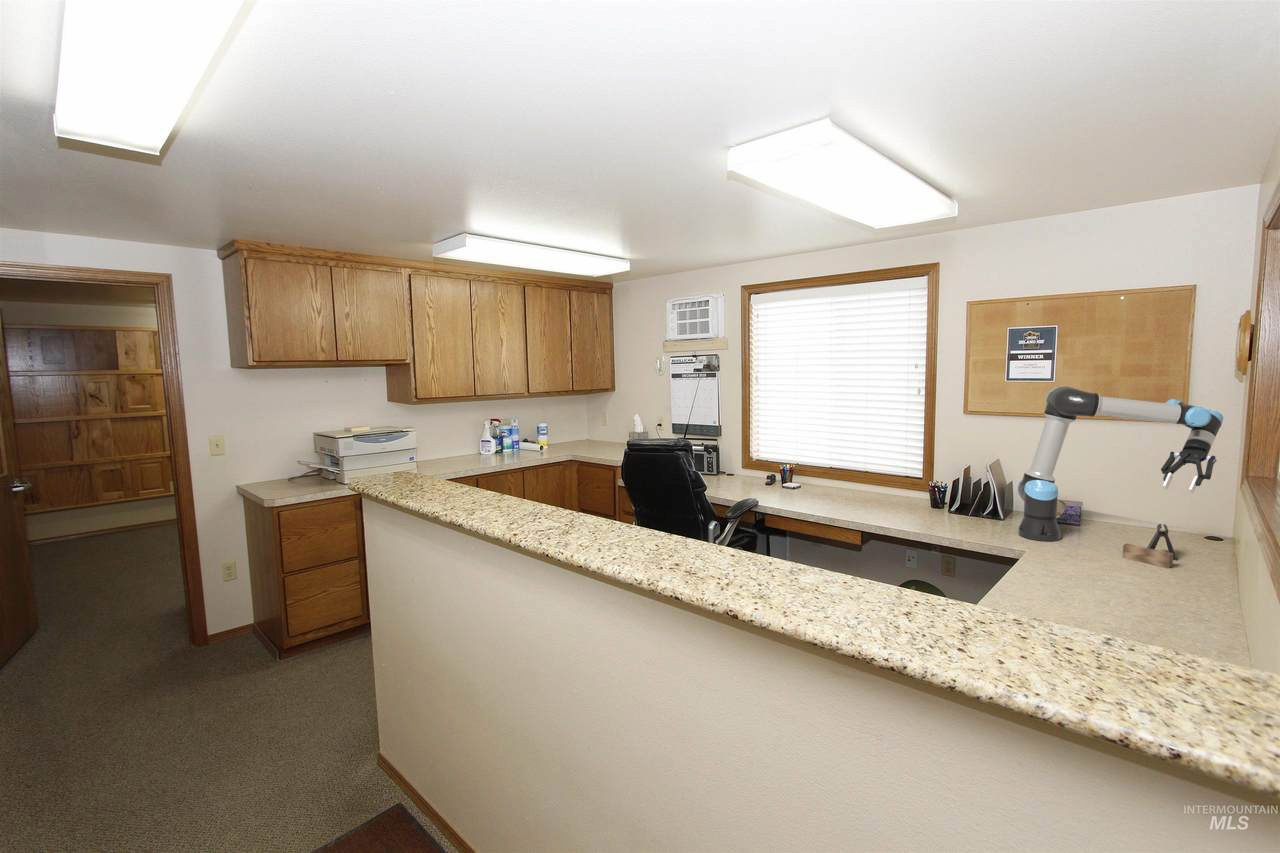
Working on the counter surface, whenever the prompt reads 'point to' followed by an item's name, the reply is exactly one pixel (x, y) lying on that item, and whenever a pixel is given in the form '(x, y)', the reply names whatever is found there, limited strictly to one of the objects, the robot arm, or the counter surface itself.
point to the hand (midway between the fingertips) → (1177, 489)
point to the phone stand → (1165, 534)
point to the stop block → (1148, 555)
